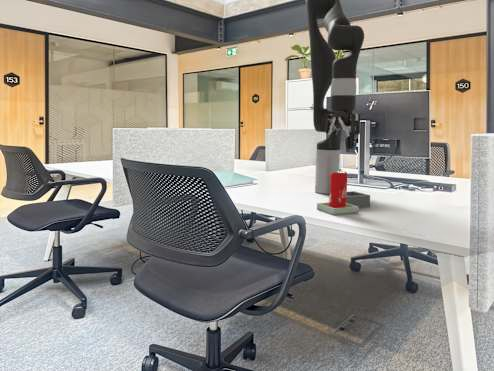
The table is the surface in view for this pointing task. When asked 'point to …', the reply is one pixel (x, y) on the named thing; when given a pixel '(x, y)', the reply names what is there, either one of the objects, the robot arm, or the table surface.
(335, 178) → the beverage can
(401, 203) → the table surface
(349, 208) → the tray
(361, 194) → the dark grey open box
